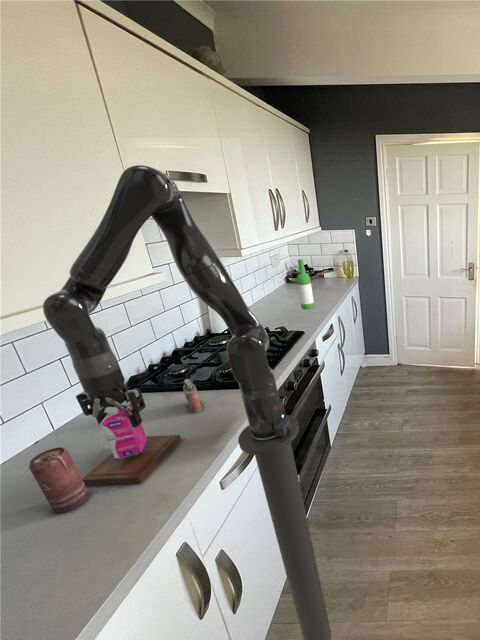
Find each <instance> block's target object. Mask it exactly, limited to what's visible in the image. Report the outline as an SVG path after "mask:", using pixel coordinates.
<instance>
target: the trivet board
mask: <svg viewBox="0 0 480 640" xmlns="http://www.w3.org/2000/svg"><path fill="white" fill-rule="evenodd" d="M146 437H147V439H148V442H147V444H146V446H145V448H144V450H143V452H142V454H138V455H133V456H129V457H125V458H121V459H118V460H115V458H114V456H113V453H112V452H111V453H110V454H109V455H108V456H106V457H105V459H103V460H102V461H101V462H99V464H98V465H96V466H95V467H94V468H93V469H92V470H91V471H90V472H88V473H87V474H86V475H85V476H84V477H82V480H83V482H84V484H85V486H86V487H96V486H97V487H98V486H117V485H119V486H120V485H137V484H139V485H140V484H142V483H143V482H144V481H145V480H146V479H147V478H148V477H149V476H150V475H151V473H153V471H154V470H156V468H157V467H158V466H159V465H160V464H161V463H162V462H163V461H164V460H165V459H166V457H167V456H169V455H170V454H171V452H172V451H174V449H175V448H176V447H177V446H178V445H179V444H180V443H181V441H182V438H181V434H171V435H169V434H167V435H148V436H147V435H146Z"/></svg>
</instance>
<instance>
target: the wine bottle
mask: <svg viewBox="0 0 480 640" xmlns="http://www.w3.org/2000/svg"><path fill="white" fill-rule="evenodd" d="M297 264H298V270H299V273H298V275H297V276H296V283H297V290H298V295H299V302H300V307H301V309H302V310H311V309H314V308H315V300H314V294H313V287H312V282H311V277H310V275H309V274H308V273H306V270H305V263H304V259H302V258H301V259H300V258H299V259H297Z"/></svg>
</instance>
